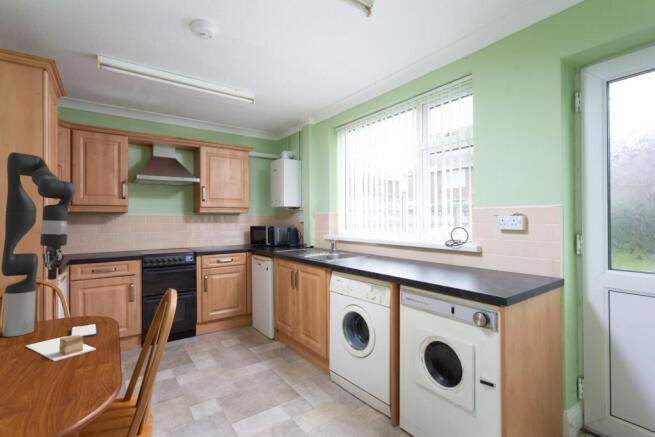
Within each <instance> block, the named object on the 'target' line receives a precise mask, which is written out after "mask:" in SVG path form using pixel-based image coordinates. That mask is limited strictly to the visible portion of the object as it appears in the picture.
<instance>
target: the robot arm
mask: <svg viewBox="0 0 655 437" xmlns="http://www.w3.org/2000/svg"><path fill="white" fill-rule="evenodd" d="M6 171H7V172H6V173H7V174H6V176H7V196H6V207H5V220H4V222H5V223H4V224H5V226H4V227H5V228H4V234H5V235H4V244H3V251H2V258H1V266H0V267H1V274H2V275H3V276H4V277H15V276H18V277H19V276H26V277H24V279H22V280H19V281H16V282H14V283H11V284H8V285H7V286H5V289H4V290H5V291H4V292H5V293H4V306H3V309H4V310H3V320H2V321H3V325H2V336H3V337H17V336H23V335H27V334H31V333H33V332H34V330H35V329H34V328H35V314H36V313H35V311H36V295H37V294H36V291H37V290H36V289H37V275H38V266H39V256H38V254H37V253H35V252H34V253H33V252H28V253H27V252H26V253H15V252H14V251H15V249H16V247H17V246H18V244H19V243H20V242H21V240H22V239H23V238H24V237H25V236H26V235H27V234H28V232H30V231H31V230H32V228H34V226H35V224H36V223H37V210H38V208H37V205H36V204H35V202H34V201H33V199H32V198H31V196H30V195H29V194H28V193H27V191H26V190H25V188H24V187H23V184H22V181H21V176H23V177H24V176H25V177H31V181H32V183H33V184H34V185H35V186H36V187H37V194H38V195H39V196H40V197H43V198H46V199H54V200H57V199H58V200H59V201H58V203H56V204H47V205H44V206H43V207H42V222H41V226H40V241H39V242H40V244H39V245H40V246H41V247H46V248H45V250H44V253H42V254H41V256H42V260H43V263H44V267H45V268H46V270H47V280H49V281H52V280H56V279H57V276H58V274H57V273H58V269H59V268H61V266H62V265H63V262H64V259H65V255H64V254H63V251H62V247H64V246H67V244H68V232H69V231H68V228H69V227H68V212H69V208H70V205H71V202H72V199H73V197H74V195H75V191H76V190H75V186H74V185H73V183H72V182H70V181H66V180H60V178H59V177H57V176H56V174H54V172H52V171H51V170H50V167H49V166H48V164H47V163H46V160H44V158H42V157H41V156H38V155H33V154H28V153H23V152H22V153H21V152H14V151H13V152H11V153H9V154H8V156H7V160H6Z"/></svg>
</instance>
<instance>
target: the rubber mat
mask: <svg viewBox="0 0 655 437" xmlns="http://www.w3.org/2000/svg"><path fill="white" fill-rule="evenodd" d="M63 337H67V336H62V337H57V338H51V339H48V340H45V341H44V340H43V341H40V342H36V343H31V344H26V345H25V347H26V348H27V349H30V350H31V351H34V352H35V353H37V354H40V356H42V357H45V358H47V359H49V360H51V361H53V362H58V361H60V360H65V359H67V358H72V357H75V356H78V355H79V356H80V355H82V354H86V353H89V352H93V351H96V350H97V348H96V347H93V346H91V345H88V344H86V343H83V351H81V352H77V353H73V354H70V355H66V356H65V355H63V354H61V353H59V346H60V338H63Z"/></svg>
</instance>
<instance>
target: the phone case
mask: <svg viewBox="0 0 655 437" xmlns="http://www.w3.org/2000/svg"><path fill="white" fill-rule="evenodd" d="M97 327H98V326H97V324H96V323H93V324H86V325H78V326H73V327H72V328H71V330H70V336H72V335H76V334H77V335H80V336H83V339H85V338H86V339H87V338H92V337H97V336H98V328H97Z"/></svg>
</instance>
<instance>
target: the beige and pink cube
mask: <svg viewBox="0 0 655 437" xmlns="http://www.w3.org/2000/svg"><path fill="white" fill-rule="evenodd" d="M62 337H63V338H61V337H59V338H60V346H59V353H61V354H63V355H65V356H66V355H70V354H73V353H77V352H81V351H83V344H84V338H83V336H80V335H77V334H76V335H72V336H71V335H68V336H66V337H65V336H62Z"/></svg>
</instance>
